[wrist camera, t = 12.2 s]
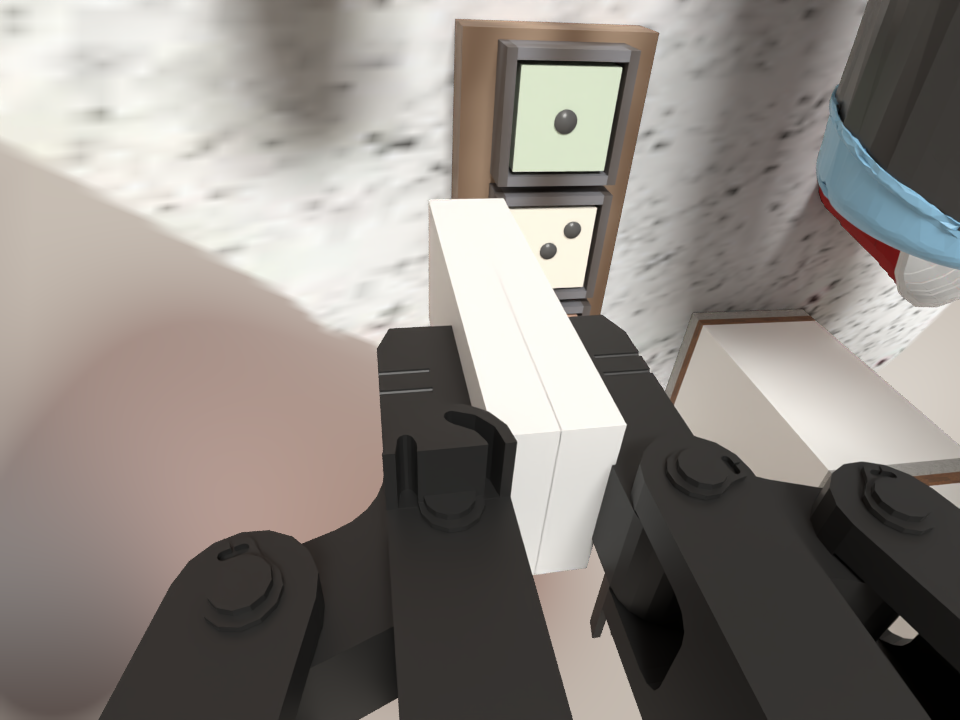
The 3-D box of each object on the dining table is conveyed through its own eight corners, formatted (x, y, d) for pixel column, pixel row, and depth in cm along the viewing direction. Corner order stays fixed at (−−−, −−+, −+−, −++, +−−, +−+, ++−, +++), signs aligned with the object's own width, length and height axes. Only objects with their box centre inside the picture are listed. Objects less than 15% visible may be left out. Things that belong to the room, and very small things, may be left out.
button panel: (639, 25, 37) (678, 39, 33) (577, 350, 53) (598, 389, 48) (455, 18, 35) (470, 33, 31) (447, 359, 51) (457, 400, 46)
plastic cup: (886, 230, 51) (1008, 301, 41) (773, 243, 49) (872, 319, 40) (945, 99, 44) (1105, 148, 35) (816, 109, 43) (947, 163, 33)
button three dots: (587, 196, 40) (597, 208, 38) (574, 273, 44) (583, 287, 42) (502, 198, 39) (509, 210, 37) (496, 276, 42) (502, 291, 41)
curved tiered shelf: (661, 400, 59) (931, 819, 32) (692, 312, 52) (1063, 742, 25) (761, 394, 61) (1094, 781, 34) (802, 308, 55) (1254, 701, 27)
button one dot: (610, 60, 35) (623, 67, 33) (593, 160, 38) (604, 171, 37) (513, 58, 34) (522, 65, 32) (505, 161, 37) (513, 172, 36)
